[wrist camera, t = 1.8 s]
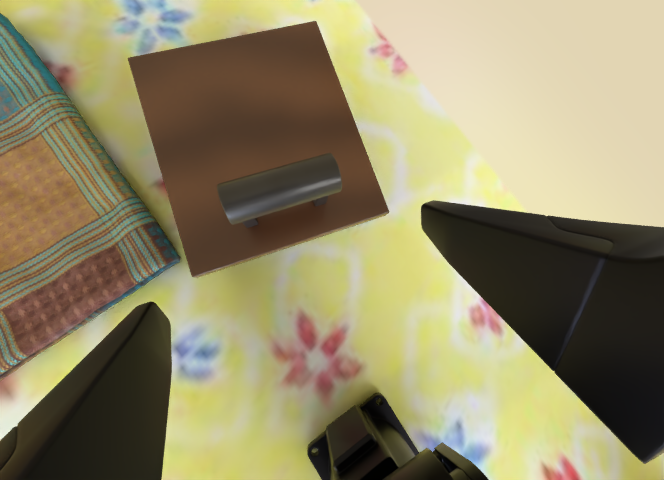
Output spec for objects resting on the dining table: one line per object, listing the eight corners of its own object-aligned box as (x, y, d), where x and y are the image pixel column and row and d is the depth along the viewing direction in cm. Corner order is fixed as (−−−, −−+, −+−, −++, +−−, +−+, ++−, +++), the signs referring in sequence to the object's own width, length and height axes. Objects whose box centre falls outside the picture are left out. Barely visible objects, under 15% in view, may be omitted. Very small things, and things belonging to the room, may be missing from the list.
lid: (385, 215, 17) (424, 185, 12) (197, 278, 15) (144, 275, 10) (315, 31, 19) (322, -69, 13) (134, 67, 17) (59, -32, 12)
